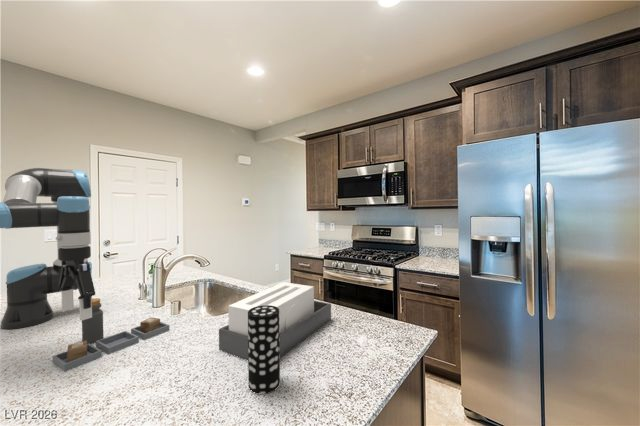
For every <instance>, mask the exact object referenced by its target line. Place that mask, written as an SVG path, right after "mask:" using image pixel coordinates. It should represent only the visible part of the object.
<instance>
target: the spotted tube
mask: <svg viewBox="0 0 640 426" xmlns="http://www.w3.org/2000/svg"><path fill="white" fill-rule="evenodd" d="M280 361H281V358H280V332H279V308H278V307H275V306H270V305H264V306H257V307H254V308H251V309H250V310H249V311H248V361H247V363H248V366H247V367H248V368H247V369H248V371H247V372H248V373H247V374H248V377H247V378H248V389H249V388H250V389H249V391H250V390H252V391H253V392H255V393H254V394H256V393H267V394H269V393H268V392H270V393H272V392H271V391H273V390H274V391H276V390H277V389H278V388H279V387H278V386H280V385H279V384H281V370H280V369H281V367H280V366H281V362H280ZM277 387H278V388H277ZM276 388H277V389H276ZM275 389H276V390H275ZM274 391H273V392H274ZM253 392H252V393H253Z"/></svg>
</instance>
